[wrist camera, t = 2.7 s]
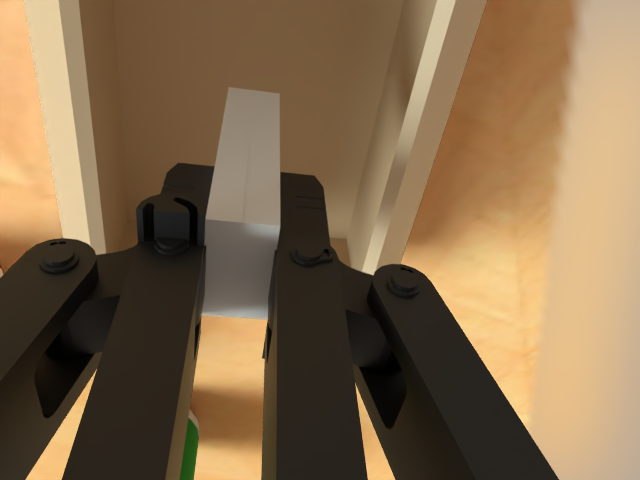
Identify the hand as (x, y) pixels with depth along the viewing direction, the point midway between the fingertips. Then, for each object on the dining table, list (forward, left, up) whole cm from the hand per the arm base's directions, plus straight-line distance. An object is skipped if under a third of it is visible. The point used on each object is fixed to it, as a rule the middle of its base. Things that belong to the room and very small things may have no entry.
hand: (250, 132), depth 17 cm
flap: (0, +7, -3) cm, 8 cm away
